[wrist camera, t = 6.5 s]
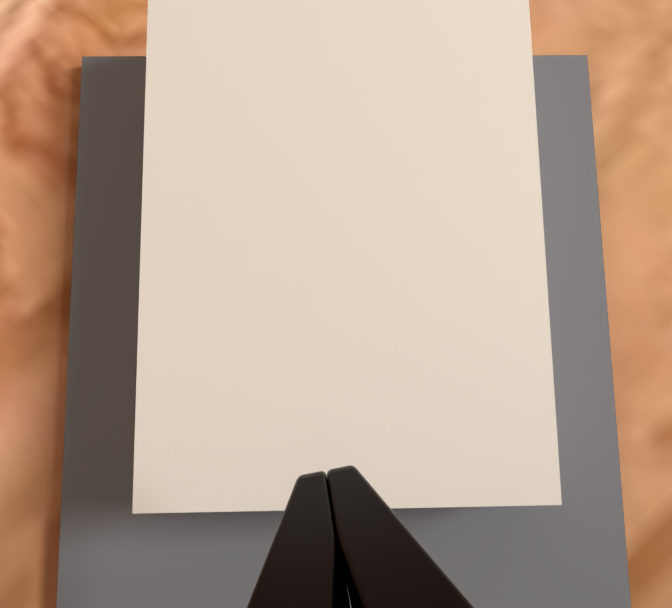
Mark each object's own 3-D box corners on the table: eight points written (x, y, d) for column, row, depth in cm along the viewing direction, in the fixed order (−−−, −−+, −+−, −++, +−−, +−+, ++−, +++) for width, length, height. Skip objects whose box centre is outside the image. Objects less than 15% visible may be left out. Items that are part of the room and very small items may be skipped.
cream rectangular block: (562, 504, 13) (527, -15, 15) (132, 513, 13) (148, -16, 15) (523, 487, 16) (497, 44, 17) (163, 494, 15) (174, 45, 17)
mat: (642, 842, 15) (650, 854, 14) (51, 861, 15) (43, 874, 14) (581, 62, 18) (587, 55, 17) (87, 64, 17) (81, 56, 17)
